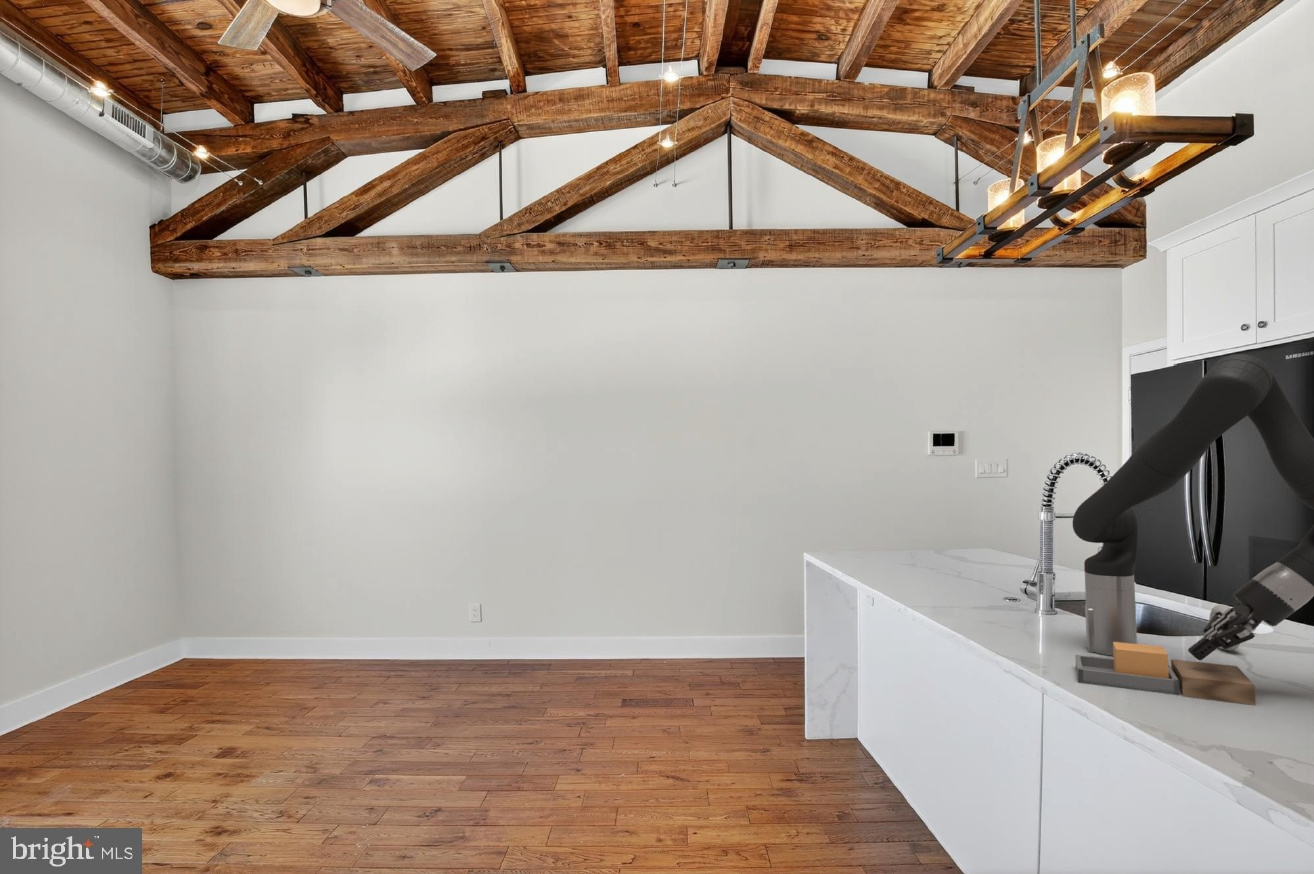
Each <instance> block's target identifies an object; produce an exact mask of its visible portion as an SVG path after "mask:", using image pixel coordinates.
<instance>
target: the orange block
mask: <svg viewBox="0 0 1314 874" xmlns="http://www.w3.org/2000/svg"><path fill="white" fill-rule="evenodd" d="M1113 659H1114V672H1115V673H1124V674H1132V675H1141V676H1150V677H1158V678H1167V679H1169V668H1168V665H1169V654H1168V653H1167V650H1166V649H1165V647H1163V646H1161V645H1150V644H1142V643H1141V644H1140V643H1137V644H1131V643H1121V642H1113Z"/></svg>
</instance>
